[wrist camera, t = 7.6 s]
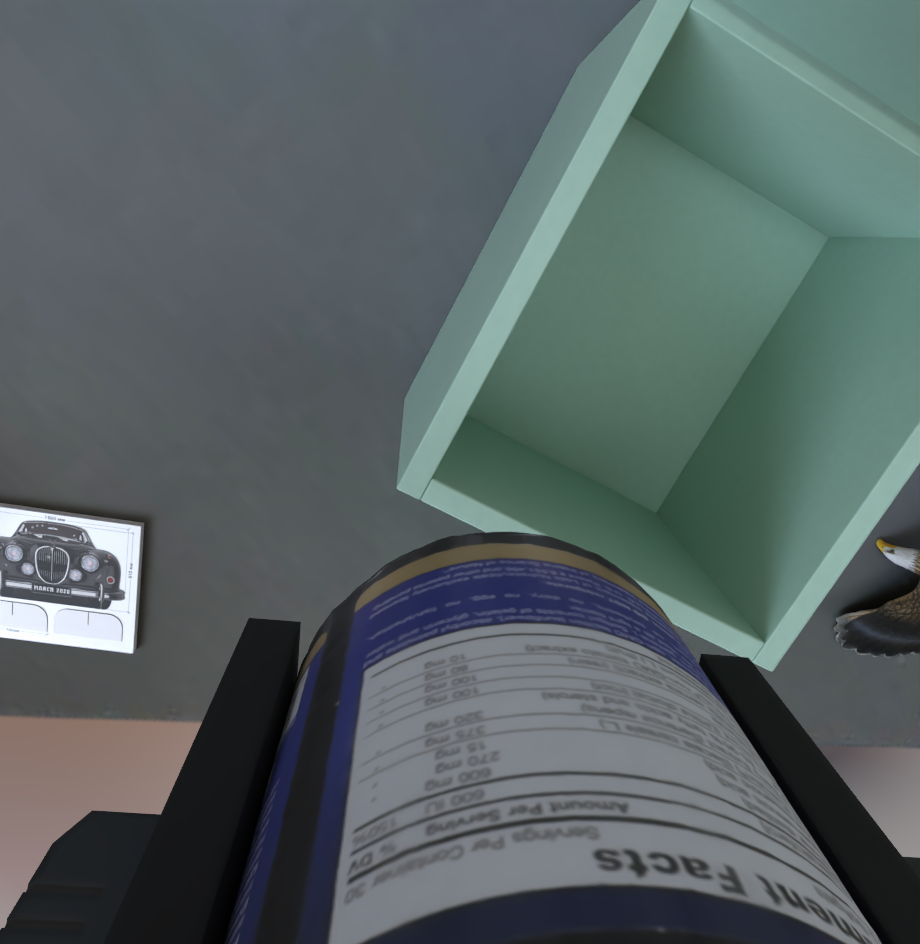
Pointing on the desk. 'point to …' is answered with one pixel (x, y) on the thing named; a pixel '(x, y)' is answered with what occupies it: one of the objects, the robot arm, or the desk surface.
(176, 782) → the robot arm
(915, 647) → the eagle figurine
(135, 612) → the car cutout
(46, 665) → the desk surface
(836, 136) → the box
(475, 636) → the pill bottle
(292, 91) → the desk surface
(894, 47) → the lid
